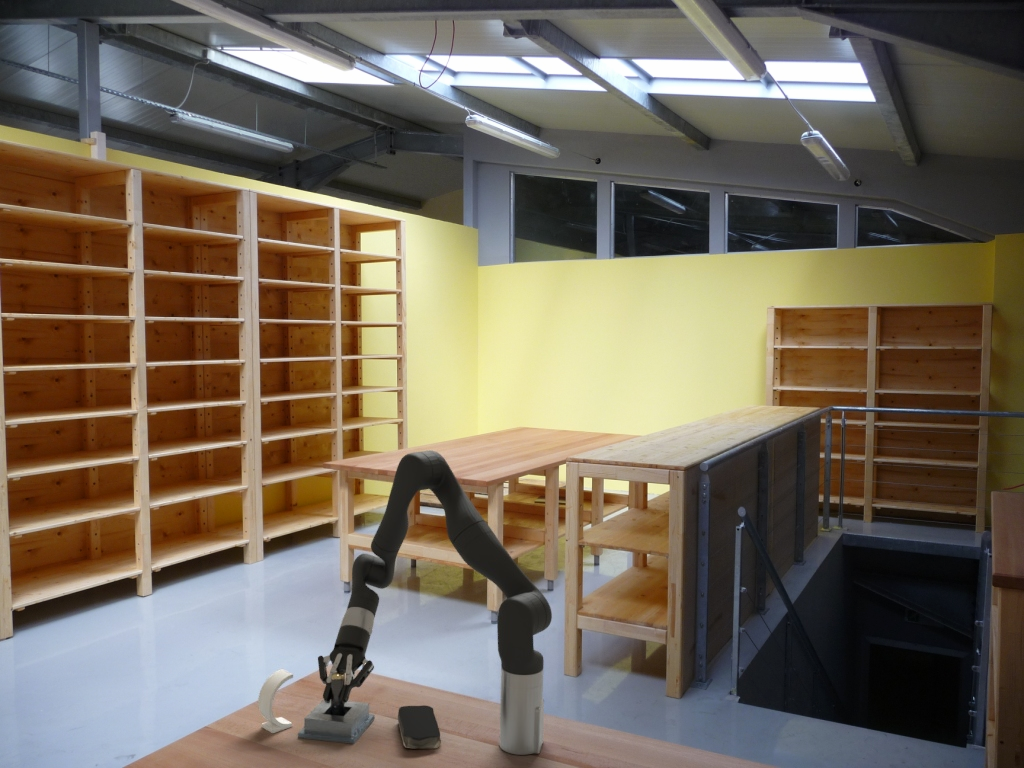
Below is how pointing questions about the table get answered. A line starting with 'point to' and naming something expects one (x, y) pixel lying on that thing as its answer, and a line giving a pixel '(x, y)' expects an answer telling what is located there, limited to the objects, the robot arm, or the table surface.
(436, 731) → the black sponge
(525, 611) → the robot arm
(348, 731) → the square hole socket
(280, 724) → the headphone stand
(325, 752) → the table surface
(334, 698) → the brass pin
